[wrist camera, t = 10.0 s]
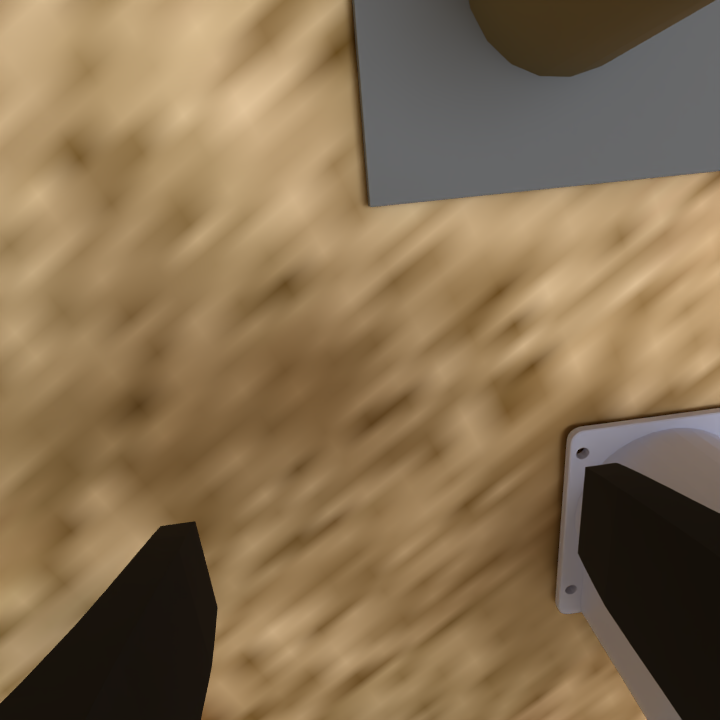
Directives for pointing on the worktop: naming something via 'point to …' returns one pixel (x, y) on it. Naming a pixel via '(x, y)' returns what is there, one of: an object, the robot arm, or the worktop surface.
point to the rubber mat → (525, 107)
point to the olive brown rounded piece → (574, 30)
